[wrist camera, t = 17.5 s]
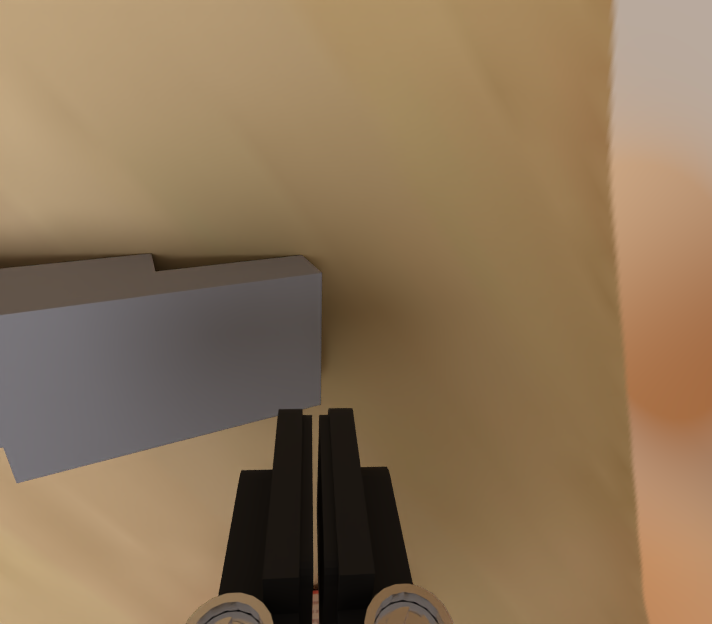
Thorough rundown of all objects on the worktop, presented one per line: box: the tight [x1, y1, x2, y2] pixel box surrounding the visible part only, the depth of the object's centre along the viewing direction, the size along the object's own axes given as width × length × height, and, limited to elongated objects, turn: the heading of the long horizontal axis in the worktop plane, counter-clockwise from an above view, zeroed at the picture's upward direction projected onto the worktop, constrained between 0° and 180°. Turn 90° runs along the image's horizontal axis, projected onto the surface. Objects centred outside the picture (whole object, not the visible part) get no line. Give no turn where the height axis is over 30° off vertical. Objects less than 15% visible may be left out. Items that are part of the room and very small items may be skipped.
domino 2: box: [0, 255, 322, 483], centre depth 14 cm, size 2×5×9 cm
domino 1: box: [0, 253, 155, 448], centre depth 14 cm, size 2×5×9 cm
